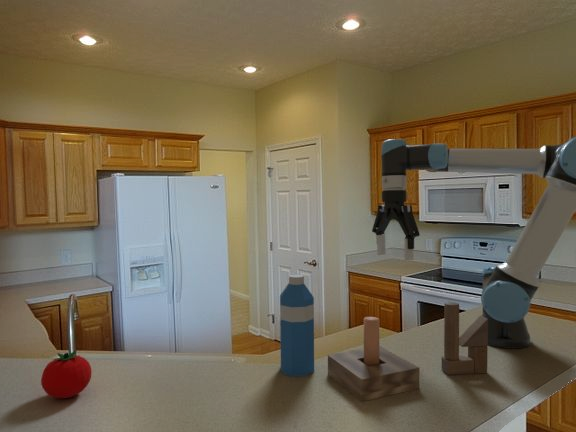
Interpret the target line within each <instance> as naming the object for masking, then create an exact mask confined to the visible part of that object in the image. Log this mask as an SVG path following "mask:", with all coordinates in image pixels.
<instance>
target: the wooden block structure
mask: <svg viewBox="0 0 576 432" xmlns="http://www.w3.org/2000/svg"><path fill="white" fill-rule="evenodd" d="M443 310H444V311H443V312H444V314H443V317H444V318H443V319H444V322H443V323H444V326H443V327H444V329H443V330H444V332H443V335H444V336H443V337H444V338H443V339H444V340H443V341H444V343H443V345H444V346H443V349H444V350H443V356H441V370H442V371H443V372H444V373H445V374H446V375H449V376H450V375H452V376H454V375H467V374H468V375H469V374H471V375H473V374H488V346H489V344H488V319H487V318H485V317H483V316H482V314H481V315H479V316H478V317H477V318H476V319H475V320H474V321H473V322H472V323H471V324H470V326H469V327H468V328H467V329H466V330H465V331H464V332H463V333H462V334H461V335H460V304H459V303H458V302H453V301H448V302H445V303H444V309H443ZM460 347H461V348H467V356H465V355H460Z"/></svg>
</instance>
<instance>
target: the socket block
mask: <svg viewBox="0 0 576 432" xmlns="http://www.w3.org/2000/svg"><path fill="white" fill-rule="evenodd" d="M327 374H328V375H329V376H330V377H331V378H332V379H333V380H335V381H336V382H337V383H338V384H339V385H341V386H342V387H343V388H345V389H346V390H347V392H349V393H350V394H352V395H353V396H354V397H356V398H357V399H358V400H359V401H361V402H367V401H370V400H374V399H378V398H382V397H387V396H391V395H396V394H400V393H404V392H405V393H406V392H410V391H413V390H418V389H420V367H419V366H417V365H415V364H414V363H411V362H410V361H408V360H407V359H405V358H402V357H401V356H399V355H398V354H395V353H394V352H392V351H390V350H388V349H387V348H385V347H382V346H381V345H379V365H374V366H367V365H366V364H364V348H360V349H354V350H348V351H342V352H337V353H330V354H327Z"/></svg>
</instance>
